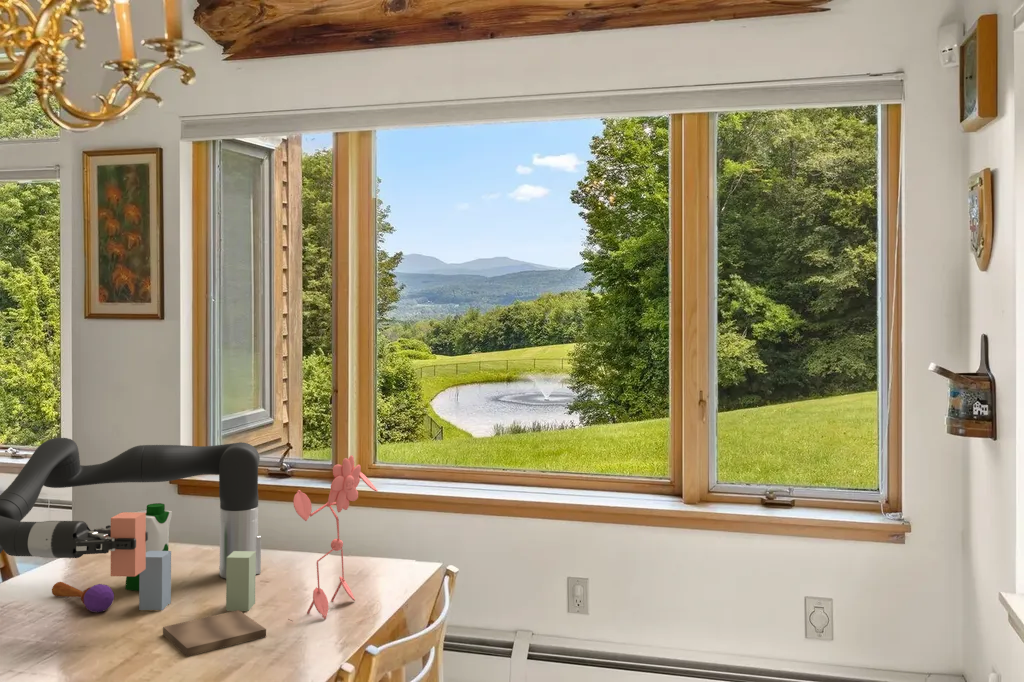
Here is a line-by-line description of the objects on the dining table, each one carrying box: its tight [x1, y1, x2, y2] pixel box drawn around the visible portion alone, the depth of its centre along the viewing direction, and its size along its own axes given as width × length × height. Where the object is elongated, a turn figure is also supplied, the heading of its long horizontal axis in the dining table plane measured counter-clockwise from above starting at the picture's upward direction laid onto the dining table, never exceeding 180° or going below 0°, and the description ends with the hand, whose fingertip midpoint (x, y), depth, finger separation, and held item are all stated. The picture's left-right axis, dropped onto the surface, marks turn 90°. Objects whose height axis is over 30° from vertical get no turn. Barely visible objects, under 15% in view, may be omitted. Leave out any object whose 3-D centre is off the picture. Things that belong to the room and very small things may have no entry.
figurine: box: [287, 454, 378, 622], centre depth 184 cm, size 15×26×35 cm, turn 157°
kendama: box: [51, 581, 115, 613], centre depth 187 cm, size 6×6×20 cm
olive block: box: [225, 551, 257, 612], centre depth 187 cm, size 5×5×12 cm
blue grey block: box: [138, 550, 172, 611], centre depth 186 cm, size 5×5×12 cm
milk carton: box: [124, 502, 173, 592], centre depth 199 cm, size 9×9×20 cm
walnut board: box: [162, 610, 267, 657], centre depth 170 cm, size 16×14×2 cm
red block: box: [110, 511, 146, 577], centre depth 171 cm, size 5×5×12 cm
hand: (141, 540), depth 171 cm, fingers closed on red block, 5 cm apart
